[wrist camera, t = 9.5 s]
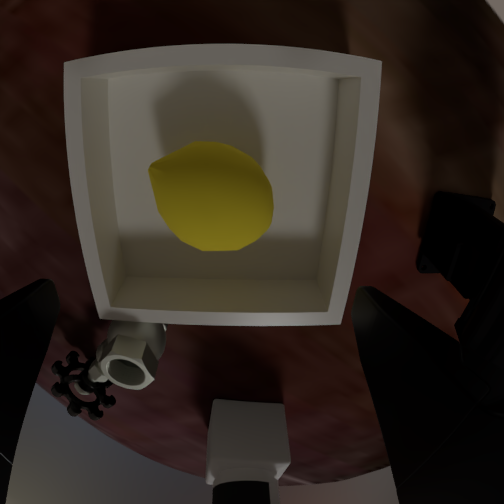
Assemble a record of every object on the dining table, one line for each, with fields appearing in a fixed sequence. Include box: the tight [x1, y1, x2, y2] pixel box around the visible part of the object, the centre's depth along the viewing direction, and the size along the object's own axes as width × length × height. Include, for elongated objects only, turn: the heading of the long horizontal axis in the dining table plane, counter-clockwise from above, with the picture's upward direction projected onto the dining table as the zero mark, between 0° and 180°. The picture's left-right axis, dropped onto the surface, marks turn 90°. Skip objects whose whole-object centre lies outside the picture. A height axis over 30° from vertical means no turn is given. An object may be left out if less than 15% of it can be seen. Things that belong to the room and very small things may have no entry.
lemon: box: [148, 141, 274, 251], centre depth 16 cm, size 7×5×5 cm
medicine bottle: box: [206, 399, 291, 504], centre depth 26 cm, size 7×7×12 cm
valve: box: [51, 320, 168, 420], centre depth 22 cm, size 7×7×12 cm
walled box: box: [64, 44, 382, 326], centre depth 17 cm, size 15×15×4 cm
